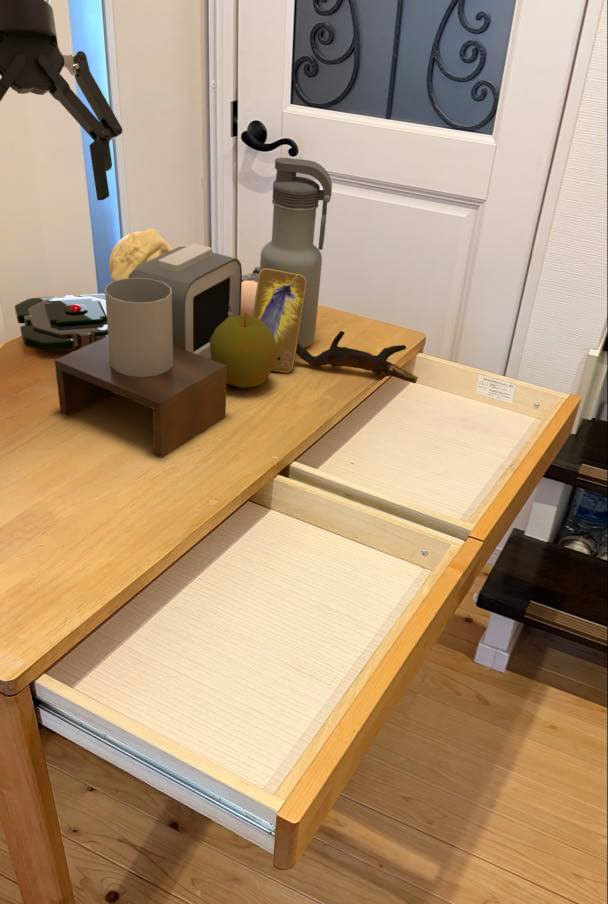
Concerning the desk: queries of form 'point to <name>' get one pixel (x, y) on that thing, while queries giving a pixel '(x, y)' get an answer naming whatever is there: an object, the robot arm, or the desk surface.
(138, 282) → the cup
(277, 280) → the smartphone
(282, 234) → the water bottle
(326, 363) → the toy
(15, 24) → the robot arm
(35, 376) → the desk surface
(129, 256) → the tan curved lump
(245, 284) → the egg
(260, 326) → the apple
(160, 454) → the shelf
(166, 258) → the alarm clock
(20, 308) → the four-lobed dark green device
